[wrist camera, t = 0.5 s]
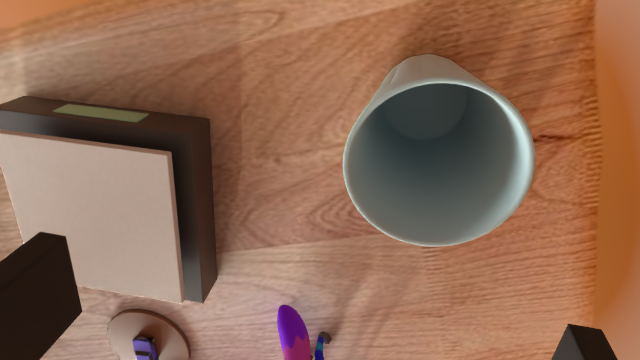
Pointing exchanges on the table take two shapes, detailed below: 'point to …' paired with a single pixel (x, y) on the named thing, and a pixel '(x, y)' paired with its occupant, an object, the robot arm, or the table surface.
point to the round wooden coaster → (146, 337)
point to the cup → (437, 155)
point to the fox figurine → (297, 336)
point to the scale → (115, 193)
